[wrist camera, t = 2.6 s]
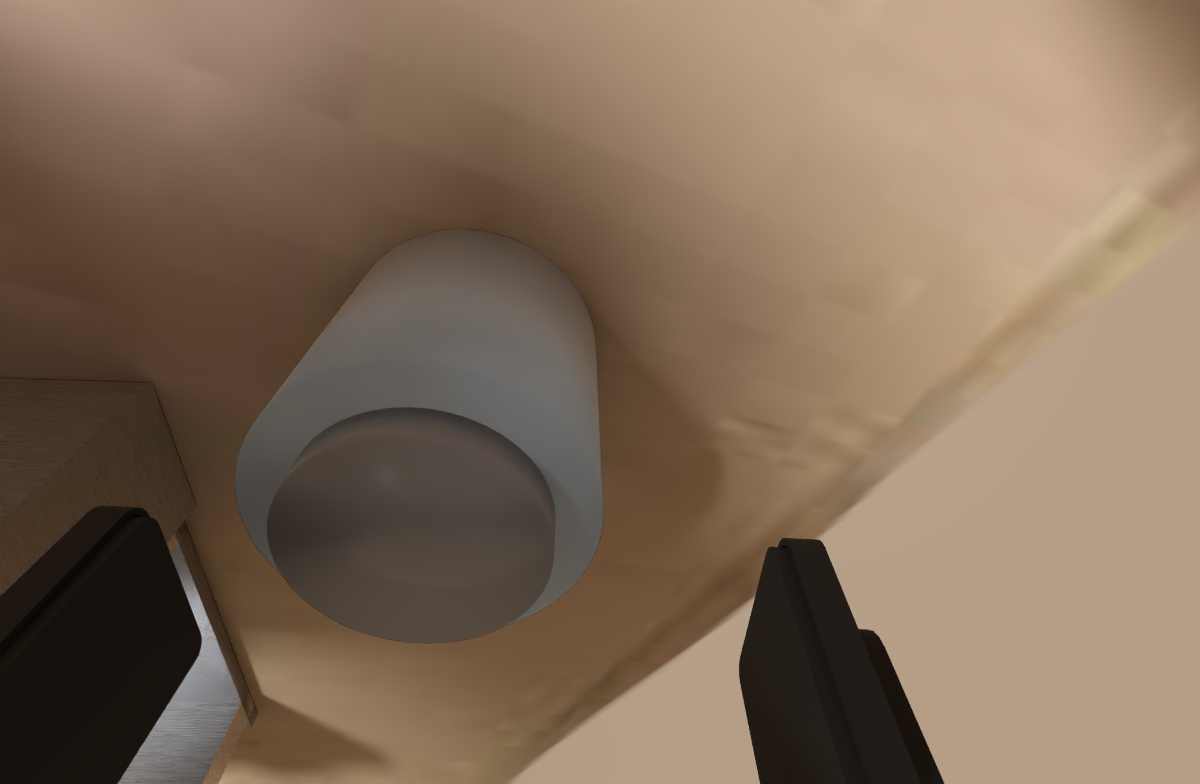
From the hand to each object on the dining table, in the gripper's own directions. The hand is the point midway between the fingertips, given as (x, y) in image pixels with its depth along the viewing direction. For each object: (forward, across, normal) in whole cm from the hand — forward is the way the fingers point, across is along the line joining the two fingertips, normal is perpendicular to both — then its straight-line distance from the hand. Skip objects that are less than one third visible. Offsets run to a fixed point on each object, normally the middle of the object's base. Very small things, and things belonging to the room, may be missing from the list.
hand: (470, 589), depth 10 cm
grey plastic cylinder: (+7, +1, -1) cm, 7 cm away
